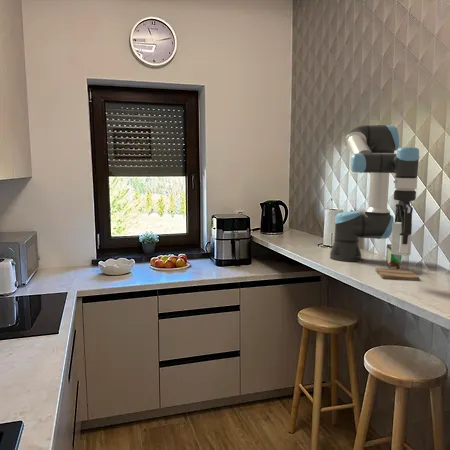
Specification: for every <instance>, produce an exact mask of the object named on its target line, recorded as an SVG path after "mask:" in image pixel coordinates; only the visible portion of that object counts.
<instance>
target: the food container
mask: <svg viewBox="0 0 450 450" xmlns="http://www.w3.org/2000/svg"><path fill="white" fill-rule="evenodd" d="M391 248H392V243H391V244H389V243H388V244H386V253H385V254H386V258H385V267H386V269H401V263H402V257H403V255H396V254H391Z"/></svg>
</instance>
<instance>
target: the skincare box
mask: <svg viewBox="0 0 450 450" xmlns="http://www.w3.org/2000/svg"><path fill="white" fill-rule="evenodd" d="M394 222H395V221H394ZM412 231H413V225H412V226H411V235H409V240H408V253H400V252H399V249H400V236H401V235H400V233H402V226H401V222H395V223H393V224H392V233H391V244H392V248H391V254H396V255H402V257H403V256H404V257H409V256H411V253H412V234H413V232H412Z"/></svg>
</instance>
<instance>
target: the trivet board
mask: <svg viewBox="0 0 450 450" xmlns="http://www.w3.org/2000/svg"><path fill="white" fill-rule="evenodd" d="M374 269H375V271H374V272H376V273H377V274H378V275H379V277H380V278H381V279H383V280H400V281H418V282H419V281H420V276H419V275H417V274H415V273H414V272H413V271H411V270H410V269H401V268H400V269H388V268H381V267H380V268H379V267H375V268H374Z"/></svg>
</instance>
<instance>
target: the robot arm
mask: <svg viewBox="0 0 450 450" xmlns="http://www.w3.org/2000/svg"><path fill="white" fill-rule="evenodd" d="M343 143H344V146H345V147H346V150H348V151H349V152H350V154H351V157H350V158H351V159H350V171H351V172H352V173H359V174H366V173H368V174H369V173H370V176H369V192H368V207H367V208H366V209H365V210H364V214H362V213H361V212H360V211H358V210H356V211H354V210H352V211H343V212H339V213H337V214H335V219H334V220H335V221H334V236H333V237H334V240H333V241H334V242H333V245H332V247H331V250H330V252H329V258H330V259H331V260H334V261H335V260H336V261H341V262H358V261H359V262H360V261H362V256H363V255H362V252H361V247H360V244H359V243H360V242H359V241H360V239H377V240H380V239H381V240H385V239H388V238H389V237H391V236H392V224H393V223H395V222H401V226H402V233H400V235H401V236H400V249H399V252H400V253H408V240H409V235H411V226H412V227H413V220H412V219H413V210H414V208H413V207H412V206H411V202H414V201H416V198H417V197H416V196H417V190H416V189H418V188H417V187H418V175H419V174H418V173H419V172H418V171H419V162H420V161H419V160H420V149H419V148H418V147H409V146H408V147H405V146H404V147H399V145H400V135H399V131H398V128H397V127H396V126H395V125H390V124H388V125H387V124H385V125H384V124H383V125H382V124H379V125H378V124H377V125H376V124H374V125H372V124H371V125H370V124H369V125H366V124H365V125H364V124H362V125H358V126H356V127H353V128H352V129H350V130H349V131H348V132H347V134H346V135H345V137H344V142H343ZM395 151H396V153H395ZM390 174H395V175H394V176H395V177H394V178H395V180H393V184H394V189H395V190H393V200H394V201H398V203H396V204H395V213H394V216H393V215H392V214H391V211H390V210H389V209H388V199H389V183H390Z"/></svg>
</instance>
